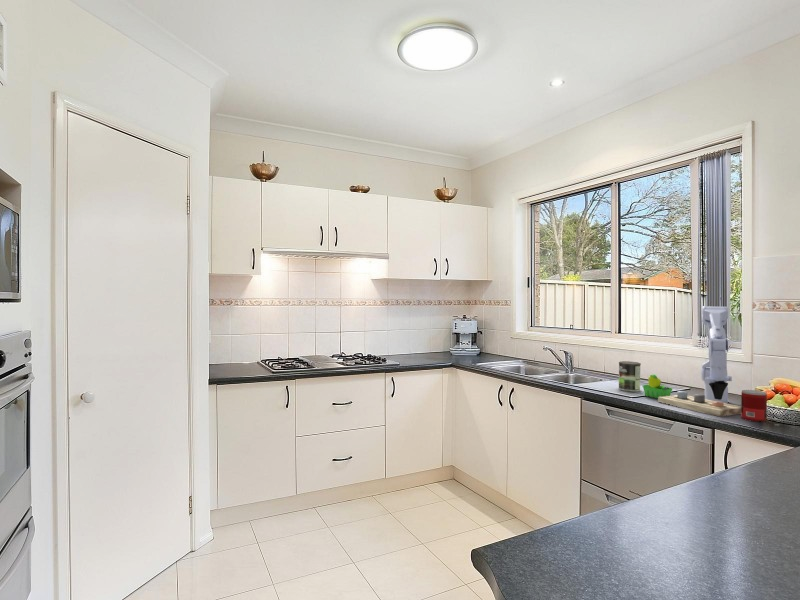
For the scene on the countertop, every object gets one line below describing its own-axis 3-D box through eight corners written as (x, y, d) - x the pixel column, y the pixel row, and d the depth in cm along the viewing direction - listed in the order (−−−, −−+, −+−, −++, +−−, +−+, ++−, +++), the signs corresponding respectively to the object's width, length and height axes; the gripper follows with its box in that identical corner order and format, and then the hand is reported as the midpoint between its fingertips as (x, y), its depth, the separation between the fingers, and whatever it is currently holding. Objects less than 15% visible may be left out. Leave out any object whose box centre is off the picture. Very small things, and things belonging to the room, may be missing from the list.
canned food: (770, 422, 182) (771, 394, 182) (747, 421, 184) (747, 393, 184) (759, 417, 190) (760, 390, 190) (737, 416, 191) (737, 389, 191)
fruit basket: (673, 399, 224) (673, 375, 224) (661, 400, 220) (661, 376, 220) (651, 394, 235) (651, 371, 235) (639, 396, 231) (639, 372, 231)
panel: (682, 399, 223) (682, 394, 223) (745, 413, 197) (745, 407, 197) (657, 402, 217) (658, 396, 217) (719, 416, 191) (719, 410, 191)
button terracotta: (716, 409, 202) (716, 400, 202) (725, 411, 198) (725, 402, 198) (710, 409, 201) (710, 401, 201) (719, 412, 197) (719, 403, 197)
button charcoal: (698, 401, 209) (698, 393, 209) (707, 403, 206) (707, 395, 206) (692, 402, 208) (692, 394, 208) (700, 404, 204) (701, 396, 204)
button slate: (681, 398, 217) (681, 390, 217) (689, 400, 213) (689, 392, 213) (675, 399, 215) (675, 391, 215) (683, 400, 212) (683, 392, 212)
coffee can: (625, 391, 241) (626, 364, 241) (614, 387, 251) (614, 361, 251) (644, 391, 242) (645, 363, 242) (632, 387, 252) (633, 361, 252)
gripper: (716, 369, 193) (716, 402, 193) (739, 367, 199) (739, 399, 199) (699, 366, 199) (699, 399, 200) (722, 365, 205) (721, 396, 205)
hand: (718, 399), depth 200 cm, fingers closed
